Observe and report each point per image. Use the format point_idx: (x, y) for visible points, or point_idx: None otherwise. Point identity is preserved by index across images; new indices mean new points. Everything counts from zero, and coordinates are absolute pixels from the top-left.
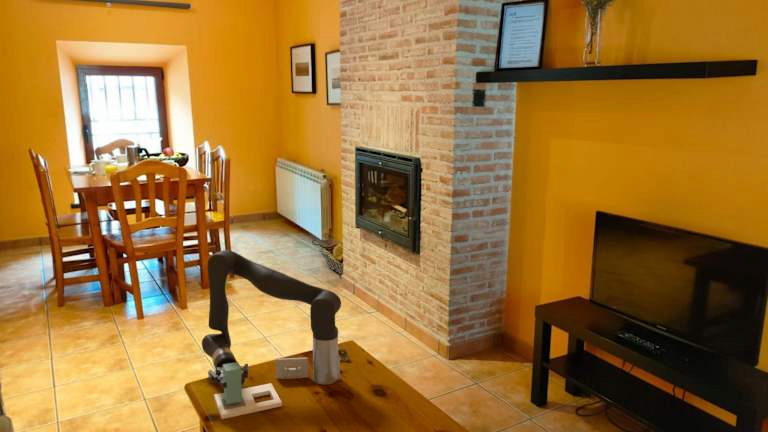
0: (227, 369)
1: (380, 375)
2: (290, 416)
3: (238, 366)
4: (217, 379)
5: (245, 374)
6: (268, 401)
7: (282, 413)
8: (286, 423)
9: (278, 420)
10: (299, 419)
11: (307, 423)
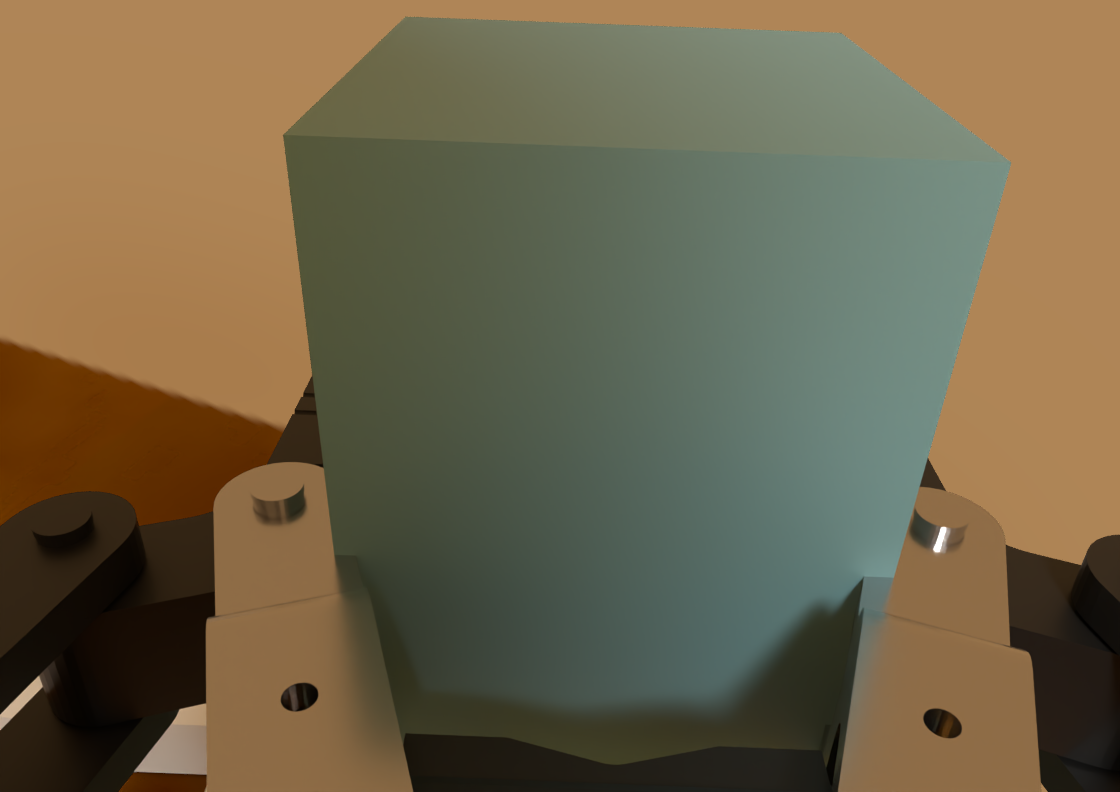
0: (790, 46)
1: None
2: (41, 472)
3: (428, 47)
4: (1056, 581)
5: (150, 557)
6: (31, 692)
7: None
8: (164, 414)
9: (192, 464)
10: (18, 417)
11: (19, 366)
